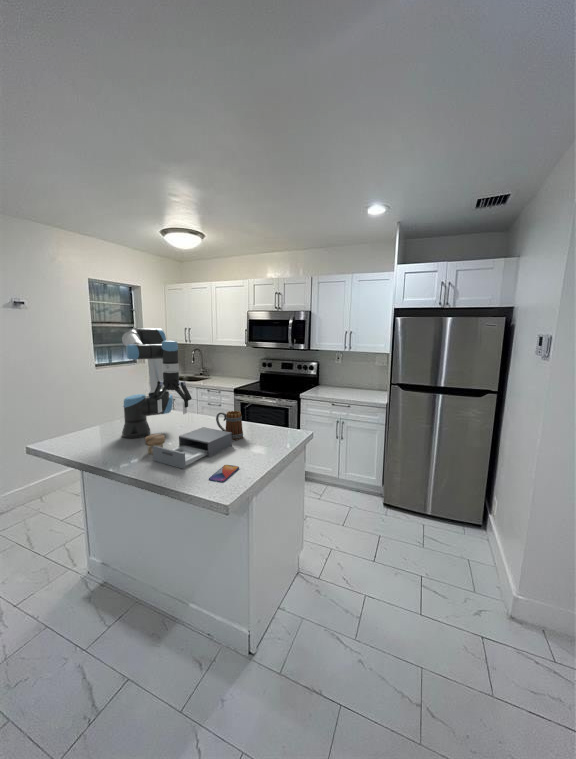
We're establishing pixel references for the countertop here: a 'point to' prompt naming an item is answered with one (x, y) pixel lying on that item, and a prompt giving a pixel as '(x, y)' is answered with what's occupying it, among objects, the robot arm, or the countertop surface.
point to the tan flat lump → (155, 439)
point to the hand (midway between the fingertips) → (172, 412)
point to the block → (150, 448)
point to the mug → (232, 424)
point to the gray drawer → (177, 455)
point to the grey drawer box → (207, 440)
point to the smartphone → (224, 473)
